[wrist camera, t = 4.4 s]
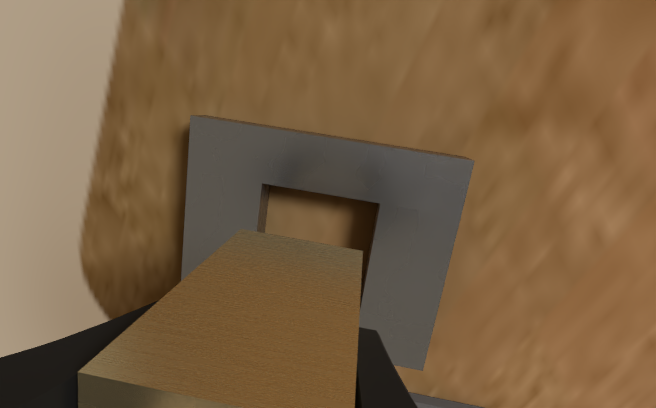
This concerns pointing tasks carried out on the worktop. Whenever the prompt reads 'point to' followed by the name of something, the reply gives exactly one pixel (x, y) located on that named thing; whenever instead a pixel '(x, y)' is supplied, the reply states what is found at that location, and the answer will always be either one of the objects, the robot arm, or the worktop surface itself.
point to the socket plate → (344, 181)
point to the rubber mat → (437, 402)
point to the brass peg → (241, 333)
